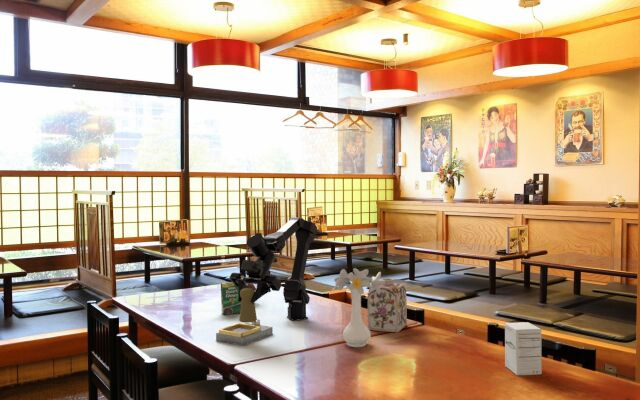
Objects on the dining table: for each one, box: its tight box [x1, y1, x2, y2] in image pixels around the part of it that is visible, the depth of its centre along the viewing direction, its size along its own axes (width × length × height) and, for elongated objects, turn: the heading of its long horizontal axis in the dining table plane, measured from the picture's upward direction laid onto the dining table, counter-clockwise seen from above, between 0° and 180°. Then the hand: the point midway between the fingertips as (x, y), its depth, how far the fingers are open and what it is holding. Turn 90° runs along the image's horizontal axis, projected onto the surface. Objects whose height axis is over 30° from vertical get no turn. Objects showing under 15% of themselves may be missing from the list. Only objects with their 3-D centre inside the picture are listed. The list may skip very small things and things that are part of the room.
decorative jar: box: [367, 277, 408, 333], centre depth 194 cm, size 12×12×18 cm
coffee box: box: [220, 281, 241, 316], centre depth 220 cm, size 8×3×13 cm, turn 113°
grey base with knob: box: [215, 319, 274, 346], centre depth 184 cm, size 16×12×4 cm
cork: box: [238, 288, 258, 324], centre depth 181 cm, size 6×6×11 cm
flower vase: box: [331, 267, 385, 348], centre depth 174 cm, size 13×18×25 cm
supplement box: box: [504, 321, 542, 376], centre depth 146 cm, size 7×7×13 cm
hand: (245, 301), depth 179 cm, fingers closed on cork, 5 cm apart
